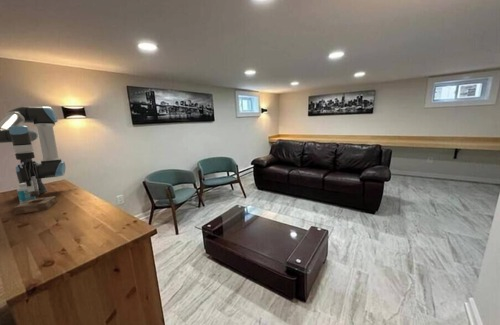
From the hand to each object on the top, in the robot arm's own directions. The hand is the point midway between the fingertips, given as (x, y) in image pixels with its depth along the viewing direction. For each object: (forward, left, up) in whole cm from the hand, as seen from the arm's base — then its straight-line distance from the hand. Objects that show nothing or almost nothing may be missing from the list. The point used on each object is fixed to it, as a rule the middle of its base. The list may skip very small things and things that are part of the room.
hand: (33, 190), depth 126 cm
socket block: (0, 0, -11) cm, 11 cm away
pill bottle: (-14, -10, -12) cm, 21 cm away
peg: (0, 0, -4) cm, 4 cm away
